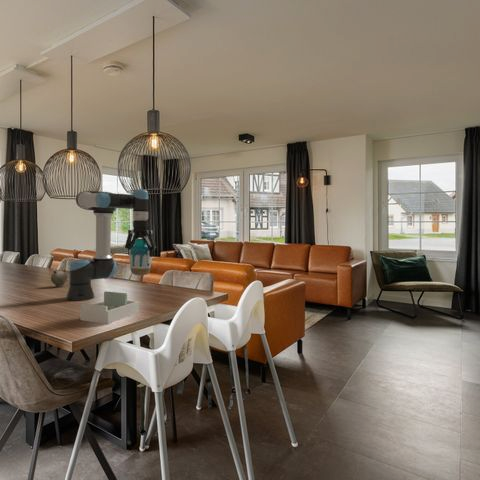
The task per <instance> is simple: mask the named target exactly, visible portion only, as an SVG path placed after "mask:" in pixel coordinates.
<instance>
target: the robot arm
mask: <svg viewBox="0 0 480 480" xmlns="http://www.w3.org/2000/svg"><path fill="white" fill-rule="evenodd" d="M75 202H76V203H75V204H76V205H77V206H78V207H79V208H80V209H83V210H86V211H93V215H95V255H94V256H93V257H92V260H91V258H81V259H80V258H79V259H75V260H72V261H71V262H70V263H69V267H68V268H69V269H68V270H69V287H68V290H67V294H66V300H67V301H74V302H75V301H86V300H92V299H94V298H95V293H94V292H93V287H92V281H94V280H101V279H102V280H103V279H104V280H106V279H110V278H113V277H114V276H115V274H116V273H117V267H118V266H117V265H118V264H117V262H116V260H115V259H114V257H113V256H112V254H111V244H112V243H111V237H112V236H111V235H112V232H111V230H112V229H111V227H112V224H111V223H112V216H113V215H114V212H115V211H117V209H127V210H132V214H133V216H132V219H133V220H132V224H133V225H132V227H133V229H127V237H126V241H125V244H124V248H125V249H127V252H128V253H127V254H128V257H129V260H128V262H129V263H130V251H131V248H132V247H133V246H134V245H135V239H144V241H145V243H146V245H147V247H148V249H149V251H148V263H151V264H152V262H153V259H152V258H153V257H154V250H157V243H156V240H155V238H154V230H151V229H150V230H149V229H148V228H149V221H148V220H149V192H148V189H147V190H146V189H133V192H132V194H130V193H115V192H114V193H113V192H109V191H100V190H99V191H97V190H84V191H81V192H79V193H78V194H77V195H76V197H75Z"/></svg>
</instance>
